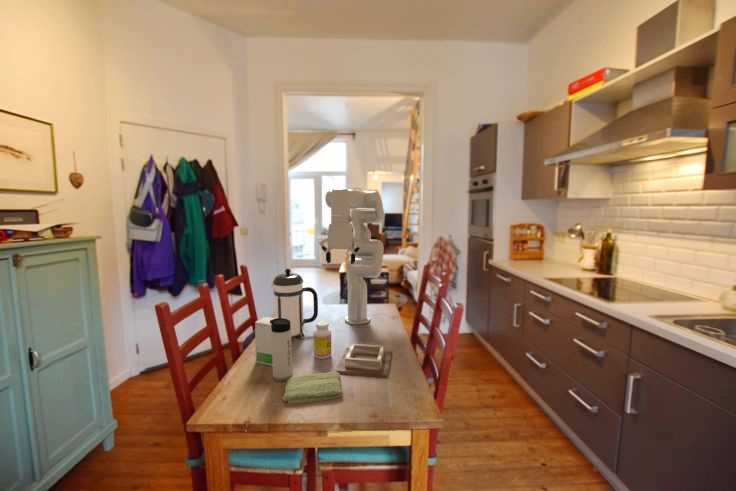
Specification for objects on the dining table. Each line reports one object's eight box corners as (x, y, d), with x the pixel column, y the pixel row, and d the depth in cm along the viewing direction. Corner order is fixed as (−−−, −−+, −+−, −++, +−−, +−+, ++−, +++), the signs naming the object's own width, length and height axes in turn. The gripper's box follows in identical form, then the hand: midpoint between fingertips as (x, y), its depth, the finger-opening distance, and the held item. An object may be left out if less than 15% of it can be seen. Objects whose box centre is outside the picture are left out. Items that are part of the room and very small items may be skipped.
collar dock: (346, 349, 129) (346, 340, 129) (391, 353, 126) (392, 343, 126) (335, 373, 111) (334, 362, 111) (387, 377, 109) (387, 366, 108)
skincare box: (255, 362, 119) (253, 321, 117) (266, 354, 125) (265, 315, 123) (274, 366, 116) (272, 324, 114) (285, 358, 122) (283, 318, 120)
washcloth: (286, 382, 106) (286, 373, 106) (340, 377, 109) (340, 368, 109) (282, 407, 94) (282, 397, 93) (343, 401, 96) (343, 391, 96)
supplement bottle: (328, 360, 121) (327, 327, 119) (311, 358, 122) (310, 325, 120) (333, 352, 127) (333, 320, 125) (317, 350, 128) (317, 319, 127)
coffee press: (292, 346, 133) (290, 274, 129) (264, 338, 141) (262, 270, 137) (319, 331, 148) (317, 266, 144) (292, 325, 156) (290, 263, 152)
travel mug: (270, 374, 111) (268, 317, 108) (290, 370, 113) (288, 315, 111) (273, 383, 105) (270, 324, 103) (293, 379, 108) (292, 321, 105)
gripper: (363, 220, 131) (363, 262, 133) (322, 220, 134) (322, 261, 135) (360, 220, 124) (360, 265, 125) (316, 220, 126) (317, 263, 128)
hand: (340, 263), depth 130 cm, fingers open, 9 cm apart
